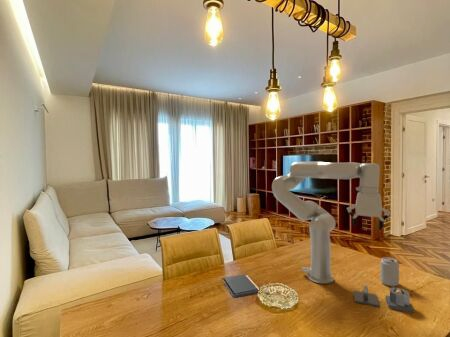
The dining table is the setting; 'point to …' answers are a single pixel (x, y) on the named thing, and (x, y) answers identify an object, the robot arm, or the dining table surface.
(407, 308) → the square base with peg
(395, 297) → the collar
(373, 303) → the stand
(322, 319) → the dining table surface
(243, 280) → the dark grey book
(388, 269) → the can
